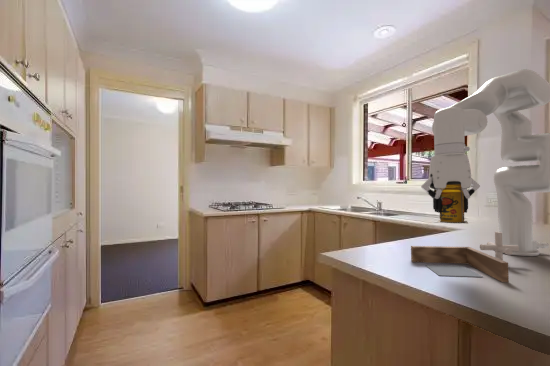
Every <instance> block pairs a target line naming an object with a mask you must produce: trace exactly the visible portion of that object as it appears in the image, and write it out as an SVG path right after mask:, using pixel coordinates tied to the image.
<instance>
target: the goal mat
mask: <svg viewBox="0 0 550 366" xmlns="http://www.w3.org/2000/svg"><path fill="white" fill-rule="evenodd" d="M424 266H425V267H426V268H428V269H429V270H431V271H432V272H434V273H435V274H436V275H437V276H439V277H456V278H457V277H458V278H459V277H460V278H465V277H467V278H484V277H483V276H482V275H481V274H478V273H477V272H475V271H473V270H472V269H470V268H468V267H466V266H465V265H451V264H449V265H448V264H424Z"/></svg>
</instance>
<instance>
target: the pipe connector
mask: <svg viewBox="0 0 550 366" xmlns="http://www.w3.org/2000/svg"><path fill="white" fill-rule="evenodd" d="M479 249H480V251H495V252H494V255H495V256H494V257H495V258H498V259H500V260H503V261H504V254H506V255H509V256H510V255H511V254H512V253H513V251H519V247H518V245H503V242H502V232H498V231H494V242H492V241H488V242H487V243H486V244H483V243H481V244H480V243H479Z"/></svg>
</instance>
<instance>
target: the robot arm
mask: <svg viewBox="0 0 550 366" xmlns="http://www.w3.org/2000/svg"><path fill="white" fill-rule="evenodd" d="M548 103H550V83H549V82H548V80H546V79H545V78H544V77H543V76H541V74H539V73H537V72H535V71H534V70H531V69H527V68H526V69H519V70H515V71H512V72H508V73H506V74H503V75H499V76H495V77H493V78H491V79H489V80H487V81H486V82H484V84H483V85H482V86H480V87H479V88H477V91H475V92H474V93H473V94H472V95H470V96H468V97H465V98H464V99H462V100H459V101H458V102H455V104H453V105H451V106H449V107H445V108H441V109H439V110H437V111H436V112H435V113H434V115H433V122H432V125H431V126H432V127H431V131H432V134H433V136H434V137H433V141H434V142H433V143H434V145H433V146H434V147H433V148H434V155H433V156H431V157H430V161H429V170H428V179H427V180H426V181H425V182H424V183H423V184H422V185H421V189H422V190H423V191H424V192H426V194H427V195H429V196H430V197H431V199H432V206H433V210H434V212H435V213H438V214H440V213H441V212H442V200H441V199H440V195H441V193H442V190H443V189H445V187H446V183H447V182H449V181H460V182H461V187H462V188H461V189H462V191H463V194H464V214H465V213H468V209H469V199H470V198H471V196H473V195H474V193H475V192H476V191H477V190H478V189H479V188H480V187H481V185H480V183H478V182H477V181H476V180H475V179H473V178H472V171H471V164H470V161H469V157H468V154H466V153H467V152H469V151H470V149H471V148H470V146H467V145H466V144H465V137H466V136H473V135H476V134H477V135H478V134H479V133H481V132H484V130H485V129H486V127H487V126H488V116H489V115H491V114H493V115H494V116H495V118H496V120H497V121H498V122H499V124H500V128H501V133H500V134H501V135H500V157H501V160H502V161H503V162H505V163H510V164H513V163H514V164H517V163H518V164H519V163H532V162H535V163H536V162H539V164H528V165H527V164H526V165H510V166H504V167H500V168H498V169H497V170H495V172H494V174H493V183H494V187H495V192H496V198H497V229H498V231H497V232H502V242H503V245H518V247H519V251H513V253H512V254H511V255H512V256H522V257H523V256H524V257H537V256H539V255H540V251H539V250H538V249H549V248H550V245H549V243H548V242H539V241H537V240H534V229H533V227H534V226H533V225H534V223H533V222H534V219H533V204H532V201H531V200H530V199H529V197H527V196H526V195H525V194H524V193H550V133H548V132H547V133H537V134H533V124H532V121H531V120H530V119H529V118H528V116H526V115H525V114H523V113H521V112H520V111H523V110H529V109H534V108H539V107H542V106H545V105H547V104H548Z"/></svg>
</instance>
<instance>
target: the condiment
mask: <svg viewBox="0 0 550 366" xmlns="http://www.w3.org/2000/svg"><path fill="white" fill-rule="evenodd" d="M461 188H462V187H461V182H460V181H449V182H447V183H446V187H445V189H443V190H442V193H441V195H440V199H441V200H442V212H441V213H439V219H438V220H437V223H441V224H442V223H444V224H466V225H467V224H469V221H468V220H465V213H464V194H463V191H462V189H461Z"/></svg>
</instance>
